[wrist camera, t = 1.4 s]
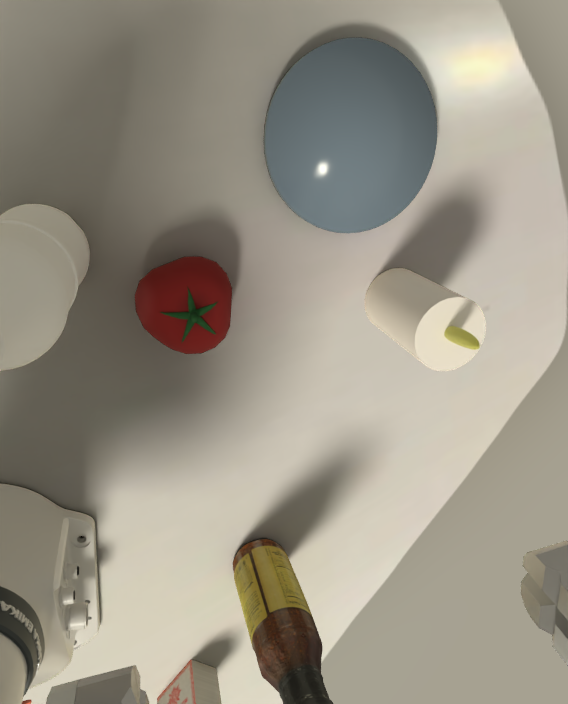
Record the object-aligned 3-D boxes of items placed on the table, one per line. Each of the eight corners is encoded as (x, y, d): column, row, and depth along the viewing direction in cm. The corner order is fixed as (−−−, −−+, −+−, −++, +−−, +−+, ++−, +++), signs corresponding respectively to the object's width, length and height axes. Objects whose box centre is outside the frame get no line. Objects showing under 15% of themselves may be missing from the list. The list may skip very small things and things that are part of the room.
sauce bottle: (245, 588, 61) (288, 775, 43) (221, 552, 58) (257, 735, 40) (296, 561, 61) (360, 735, 44) (275, 524, 59) (334, 693, 41)
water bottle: (-12, 200, 41) (-200, 275, 18) (86, 199, 43) (26, 267, 20) (4, 291, 44) (-141, 455, 21) (97, 287, 45) (54, 435, 23)
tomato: (219, 242, 46) (232, 259, 40) (235, 328, 50) (250, 356, 43) (125, 260, 45) (123, 281, 39) (148, 347, 48) (150, 380, 42)
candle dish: (428, 217, 50) (436, 219, 49) (272, 242, 47) (276, 245, 46) (427, 33, 44) (437, 29, 43) (250, 49, 42) (254, 46, 40)
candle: (389, 344, 54) (472, 412, 41) (352, 299, 51) (427, 356, 38) (436, 301, 54) (536, 356, 40) (401, 254, 51) (496, 295, 37)
